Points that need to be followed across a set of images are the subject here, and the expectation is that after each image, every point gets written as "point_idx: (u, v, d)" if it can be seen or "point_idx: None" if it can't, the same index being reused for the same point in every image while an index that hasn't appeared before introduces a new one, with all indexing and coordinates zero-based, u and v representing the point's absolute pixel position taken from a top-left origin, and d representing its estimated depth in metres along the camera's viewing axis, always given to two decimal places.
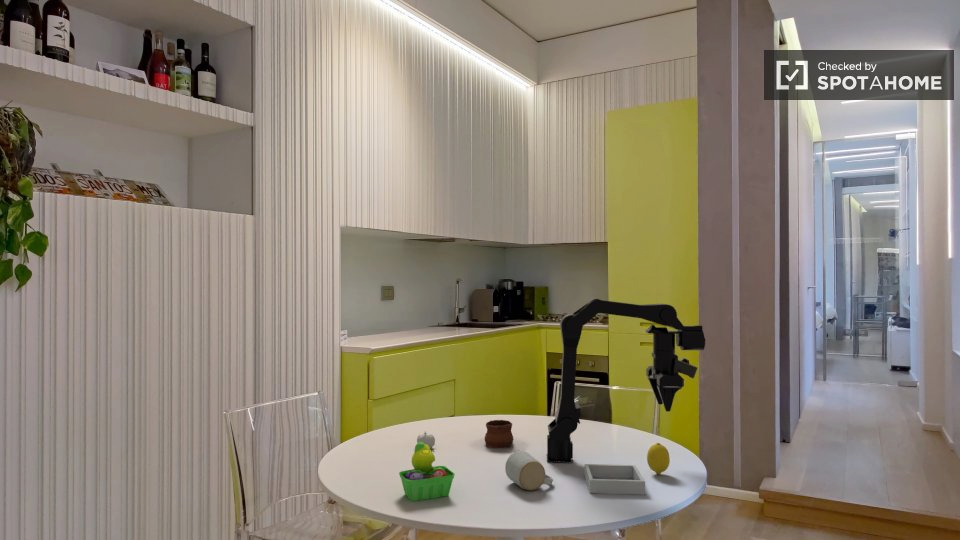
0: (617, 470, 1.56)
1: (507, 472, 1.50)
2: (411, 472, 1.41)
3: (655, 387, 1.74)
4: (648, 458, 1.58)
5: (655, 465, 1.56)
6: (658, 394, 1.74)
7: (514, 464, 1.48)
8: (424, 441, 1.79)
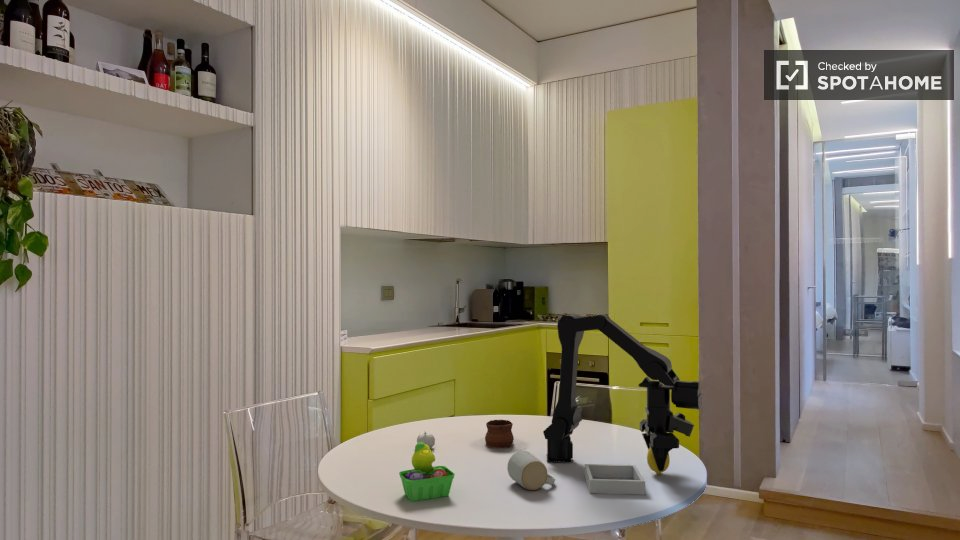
0: (617, 470, 1.56)
1: (510, 471, 1.50)
2: (411, 472, 1.41)
3: (650, 445, 1.62)
4: (648, 458, 1.58)
5: (655, 465, 1.56)
6: None
7: (516, 464, 1.48)
8: (424, 441, 1.79)
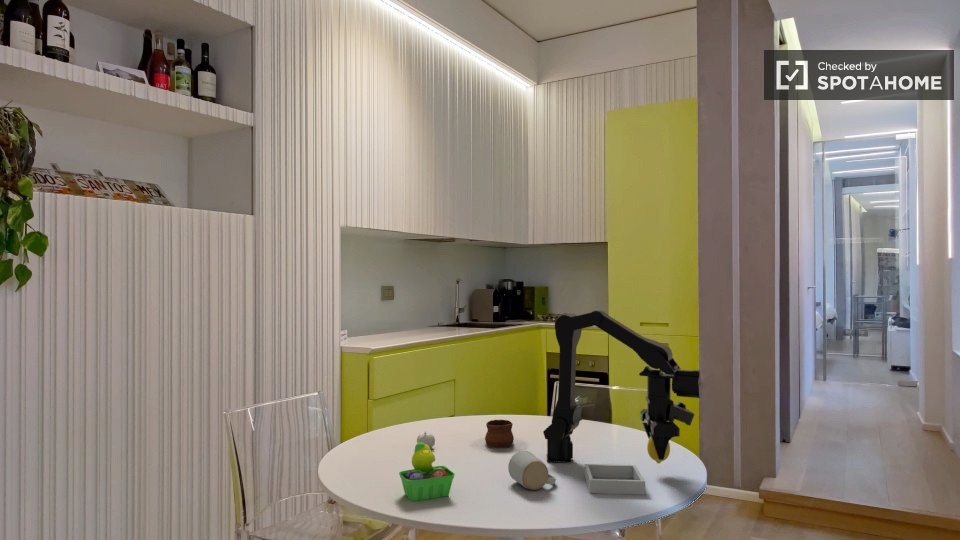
0: (617, 470, 1.56)
1: (510, 471, 1.50)
2: (411, 472, 1.41)
3: (650, 434, 1.62)
4: (648, 447, 1.58)
5: (655, 454, 1.56)
6: None
7: (517, 463, 1.48)
8: (424, 441, 1.79)
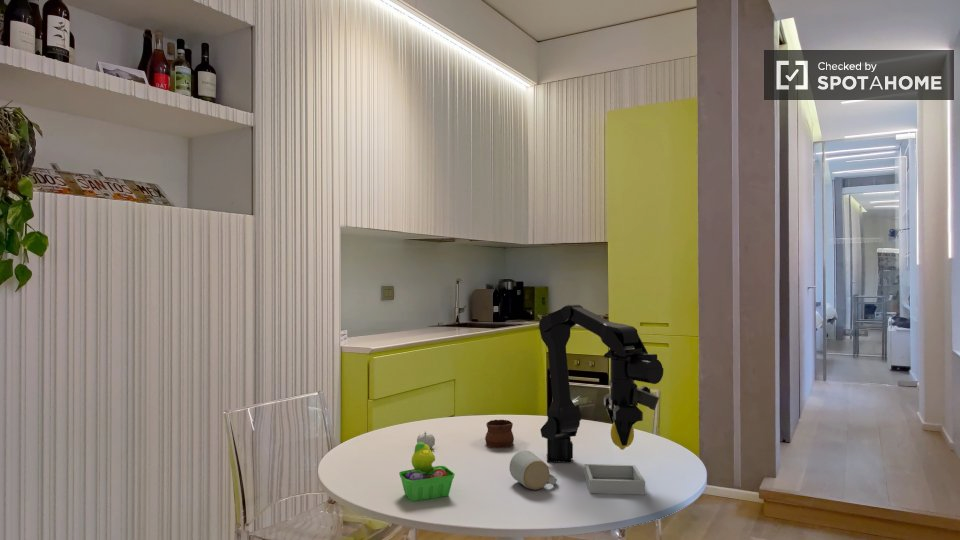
0: (617, 470, 1.56)
1: (512, 471, 1.50)
2: (411, 472, 1.41)
3: (614, 420, 1.55)
4: (612, 433, 1.51)
5: (618, 440, 1.50)
6: None
7: (518, 463, 1.48)
8: (424, 441, 1.79)
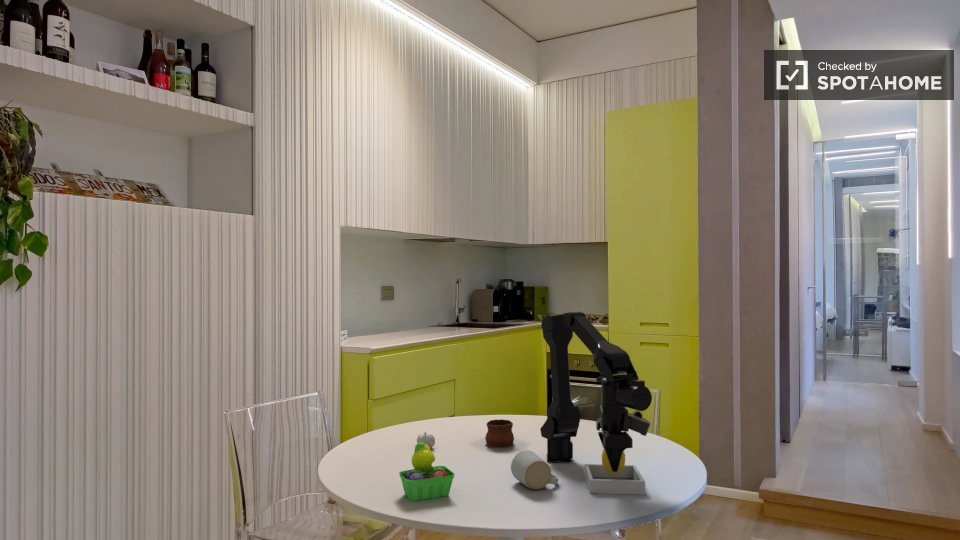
0: None
1: (513, 471, 1.50)
2: (411, 472, 1.41)
3: None
4: (602, 458, 1.50)
5: (609, 466, 1.48)
6: None
7: (520, 463, 1.48)
8: (424, 441, 1.79)
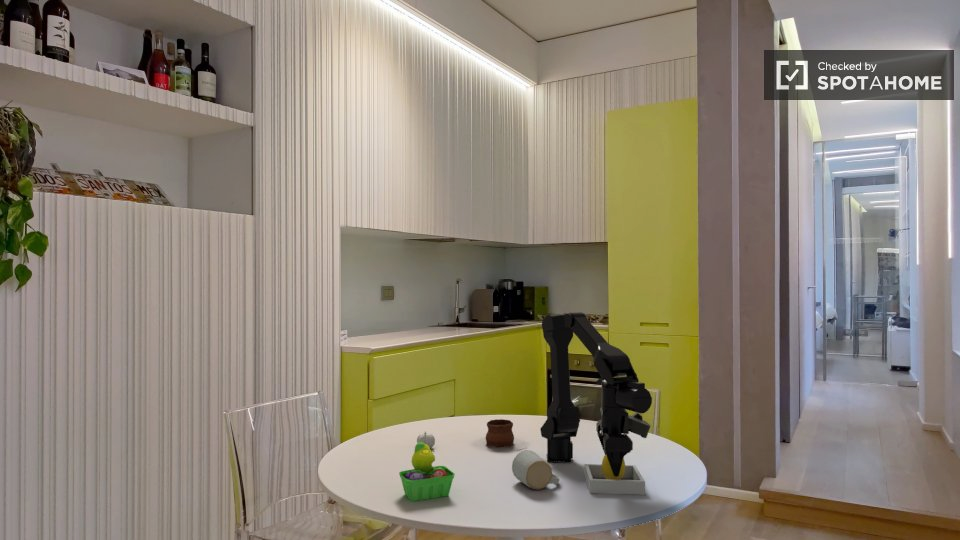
0: None
1: (514, 471, 1.50)
2: (411, 472, 1.41)
3: None
4: (602, 466, 1.50)
5: (609, 473, 1.48)
6: None
7: (521, 463, 1.48)
8: (424, 441, 1.79)
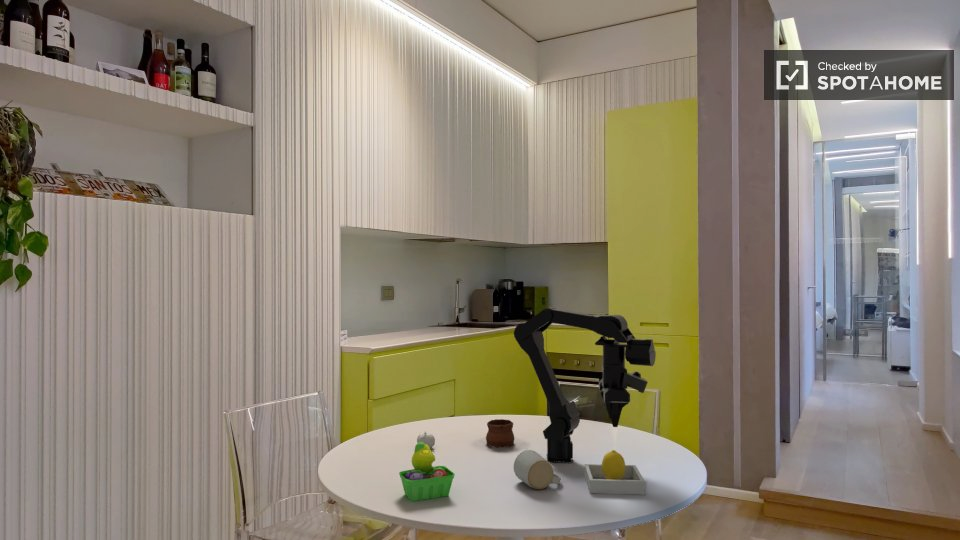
0: None
1: (516, 471, 1.51)
2: (411, 472, 1.41)
3: None
4: (603, 466, 1.50)
5: (609, 474, 1.48)
6: None
7: (522, 463, 1.49)
8: (424, 441, 1.79)
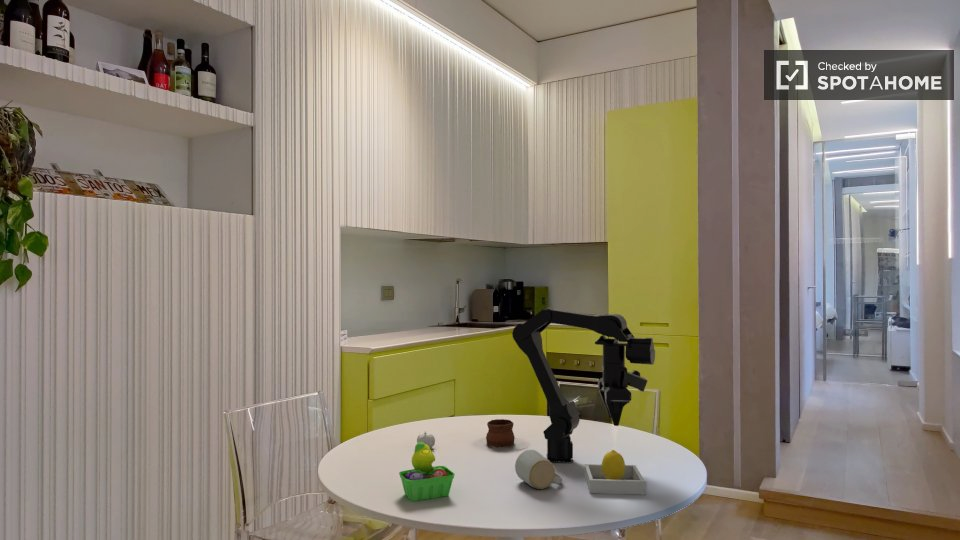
0: None
1: (517, 471, 1.51)
2: (411, 472, 1.41)
3: (606, 400, 1.69)
4: (602, 466, 1.50)
5: (609, 474, 1.48)
6: None
7: (524, 463, 1.49)
8: (424, 441, 1.79)
